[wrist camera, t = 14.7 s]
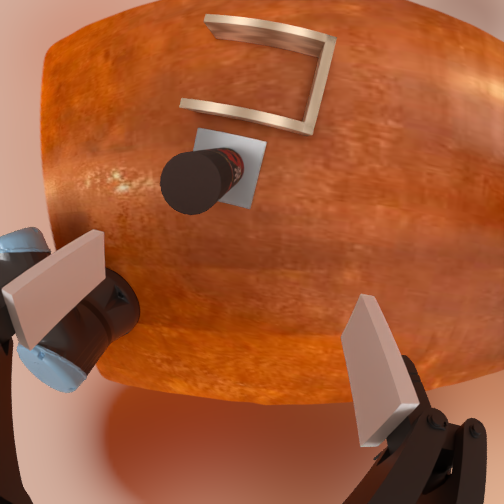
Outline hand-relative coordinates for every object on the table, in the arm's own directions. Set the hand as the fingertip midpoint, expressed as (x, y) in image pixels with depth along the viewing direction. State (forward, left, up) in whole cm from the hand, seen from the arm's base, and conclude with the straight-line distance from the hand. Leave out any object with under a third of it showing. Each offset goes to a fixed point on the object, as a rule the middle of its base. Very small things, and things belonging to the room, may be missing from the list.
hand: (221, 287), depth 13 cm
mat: (-6, +1, -29) cm, 29 cm away
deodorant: (-6, +1, -28) cm, 29 cm away
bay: (-4, +15, -29) cm, 33 cm away
